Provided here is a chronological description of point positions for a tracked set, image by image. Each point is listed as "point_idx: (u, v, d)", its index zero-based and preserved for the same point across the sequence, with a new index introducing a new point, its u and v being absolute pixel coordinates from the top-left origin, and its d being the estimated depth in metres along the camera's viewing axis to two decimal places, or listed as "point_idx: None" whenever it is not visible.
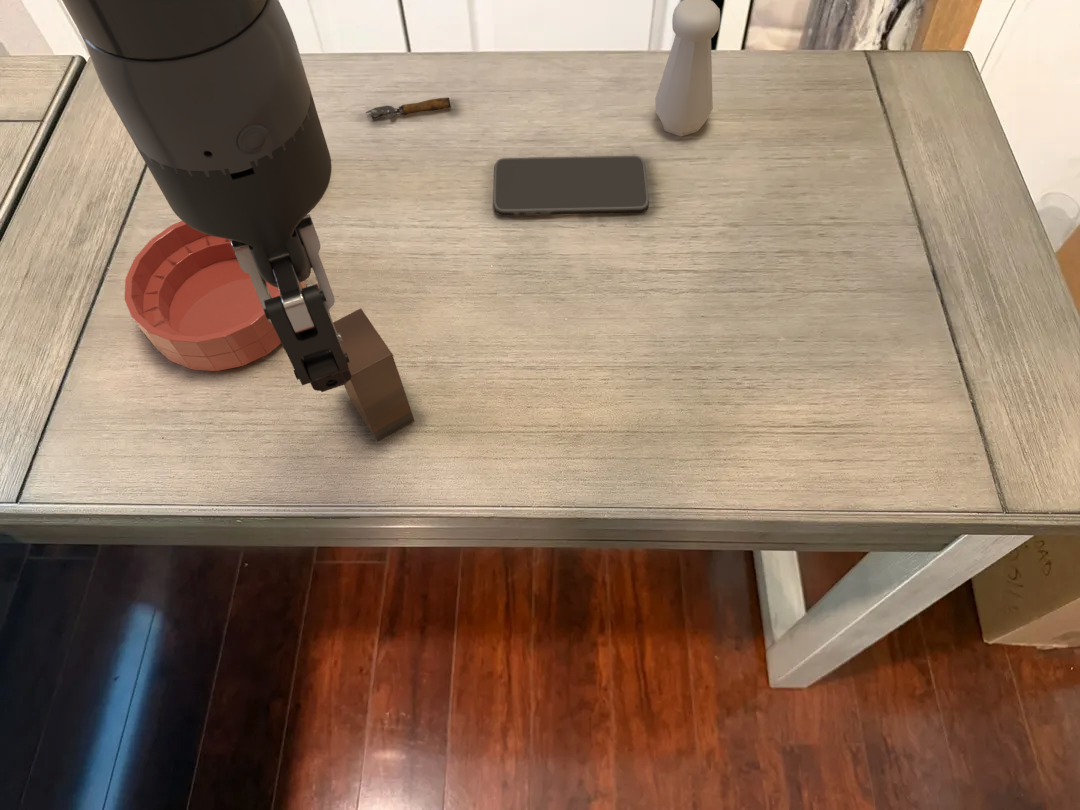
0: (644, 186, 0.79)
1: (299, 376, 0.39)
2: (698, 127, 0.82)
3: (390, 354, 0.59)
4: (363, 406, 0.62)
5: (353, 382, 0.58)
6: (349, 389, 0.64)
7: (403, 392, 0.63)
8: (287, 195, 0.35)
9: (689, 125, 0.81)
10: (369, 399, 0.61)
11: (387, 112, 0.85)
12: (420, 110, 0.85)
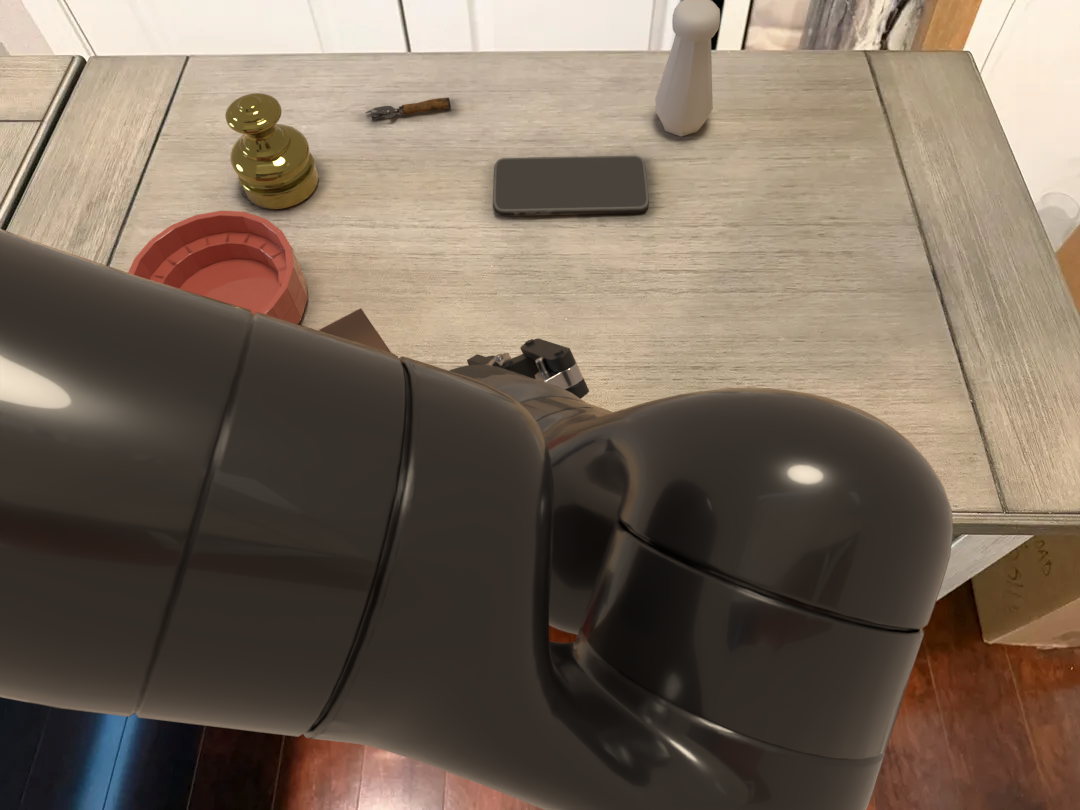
0: (644, 186, 0.79)
1: None
2: (698, 127, 0.82)
3: None
4: None
5: None
6: None
7: None
8: None
9: (689, 125, 0.81)
10: None
11: (387, 112, 0.85)
12: (420, 110, 0.85)
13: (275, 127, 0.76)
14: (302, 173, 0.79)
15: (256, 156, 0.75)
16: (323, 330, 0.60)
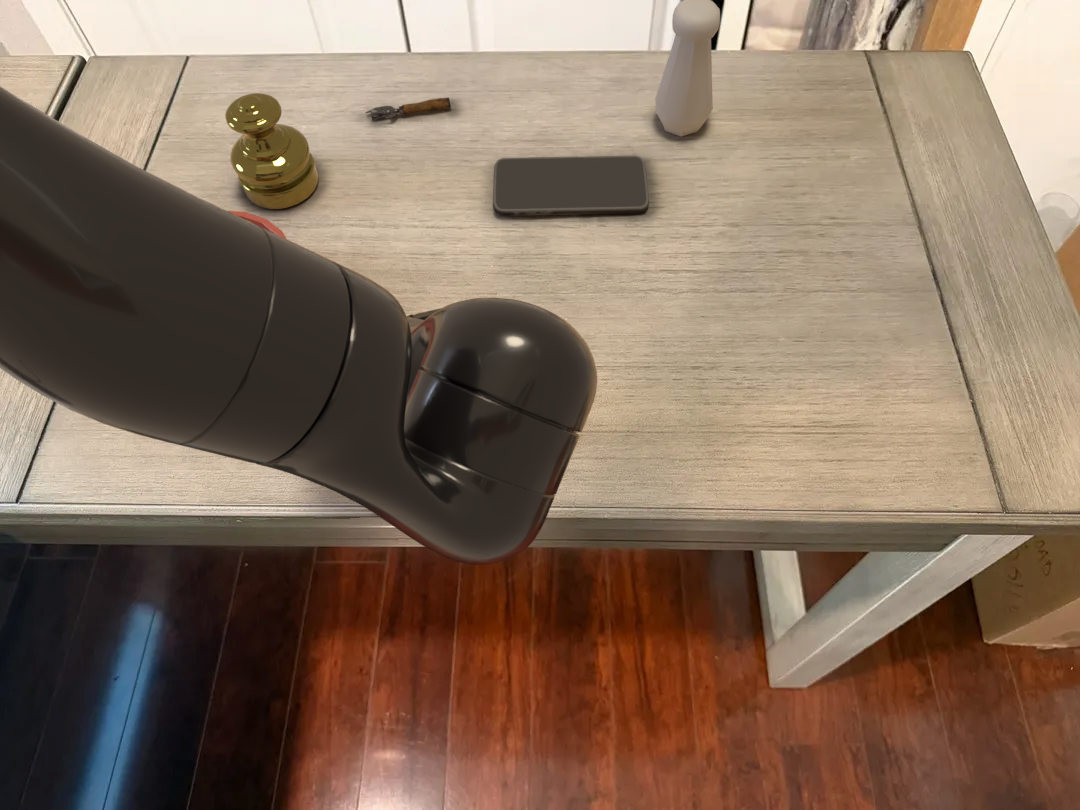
0: (644, 186, 0.79)
1: None
2: (698, 127, 0.82)
3: None
4: None
5: None
6: None
7: None
8: None
9: (689, 125, 0.81)
10: None
11: (387, 112, 0.85)
12: (420, 110, 0.85)
13: (275, 127, 0.76)
14: (302, 173, 0.79)
15: (256, 155, 0.75)
16: None
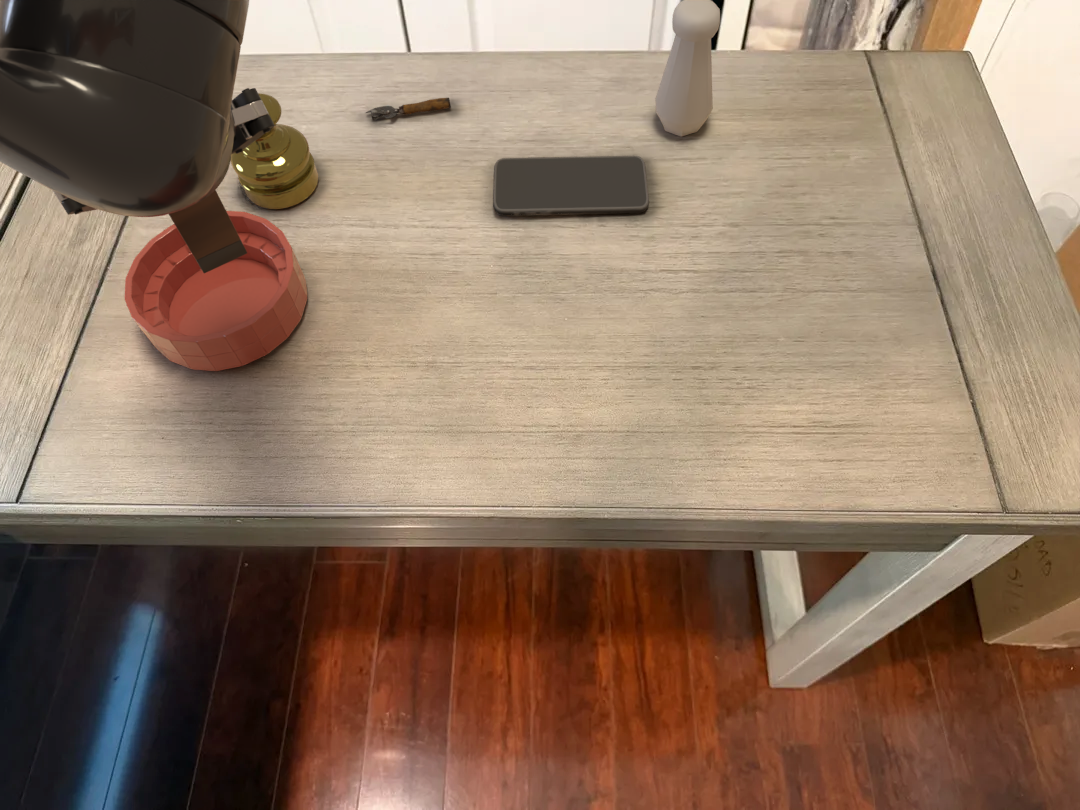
0: (644, 186, 0.79)
1: None
2: (698, 127, 0.82)
3: None
4: (173, 219, 0.56)
5: None
6: None
7: (223, 210, 0.57)
8: None
9: (689, 125, 0.81)
10: (178, 211, 0.55)
11: (387, 112, 0.85)
12: (420, 110, 0.85)
13: (275, 127, 0.76)
14: (302, 173, 0.79)
15: (256, 155, 0.75)
16: None
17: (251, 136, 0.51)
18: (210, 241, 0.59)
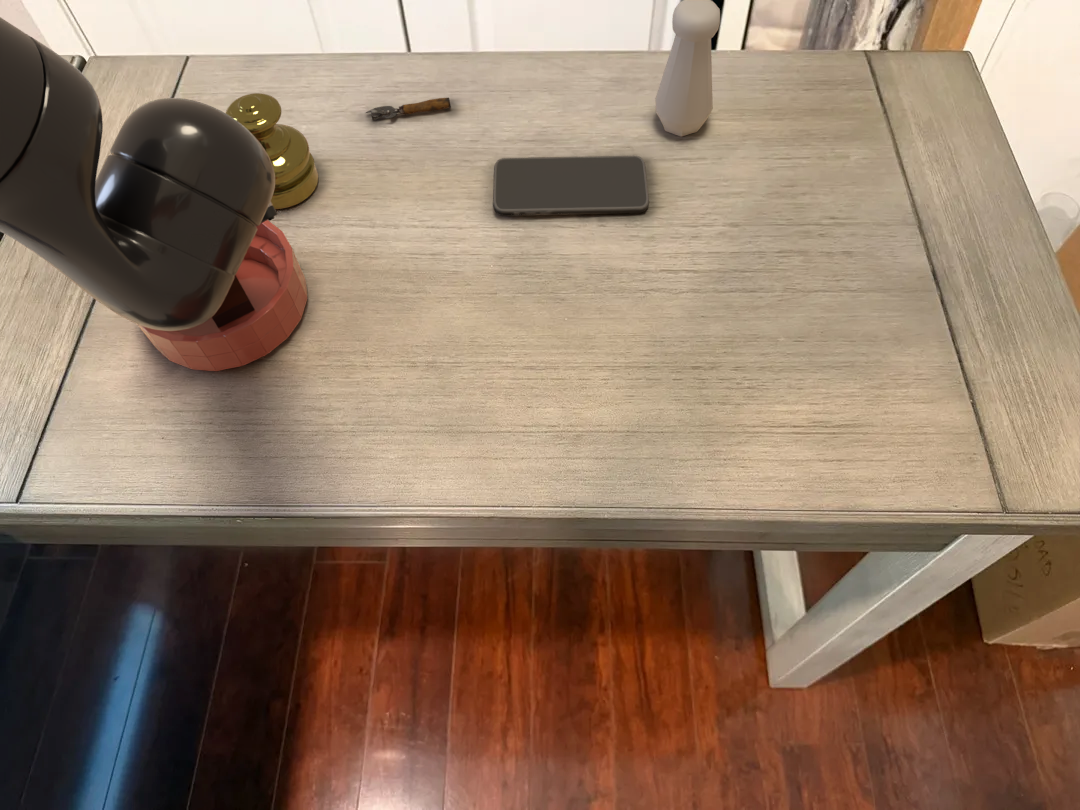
0: (644, 186, 0.79)
1: None
2: (698, 127, 0.82)
3: None
4: None
5: None
6: None
7: None
8: None
9: (689, 125, 0.81)
10: None
11: (387, 112, 0.85)
12: (420, 110, 0.85)
13: (275, 127, 0.76)
14: (302, 173, 0.79)
15: None
16: None
17: None
18: (223, 302, 0.70)
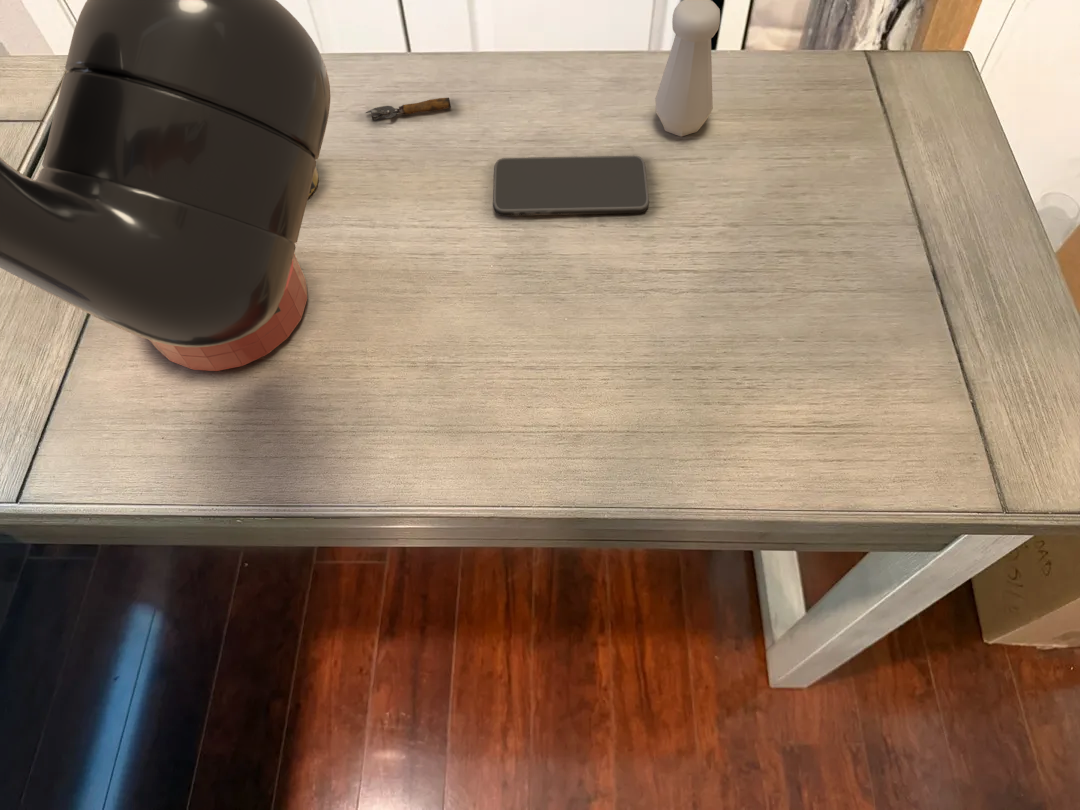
0: (644, 186, 0.79)
1: None
2: (698, 127, 0.82)
3: None
4: None
5: None
6: None
7: None
8: None
9: (689, 125, 0.81)
10: None
11: (387, 112, 0.85)
12: (420, 110, 0.85)
13: None
14: None
15: None
16: None
17: None
18: None
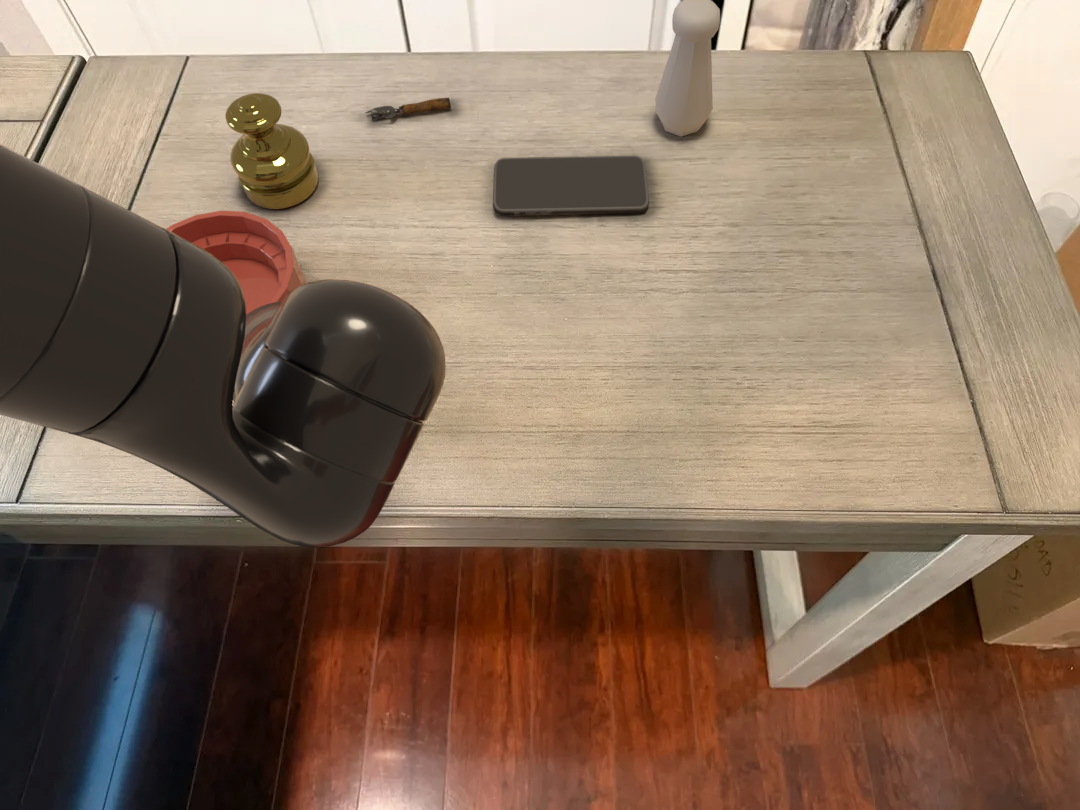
0: (644, 186, 0.79)
1: None
2: (698, 127, 0.82)
3: None
4: None
5: None
6: None
7: None
8: None
9: (689, 125, 0.81)
10: None
11: (387, 112, 0.85)
12: (420, 110, 0.85)
13: (275, 127, 0.76)
14: (302, 173, 0.79)
15: (256, 155, 0.75)
16: None
17: None
18: None
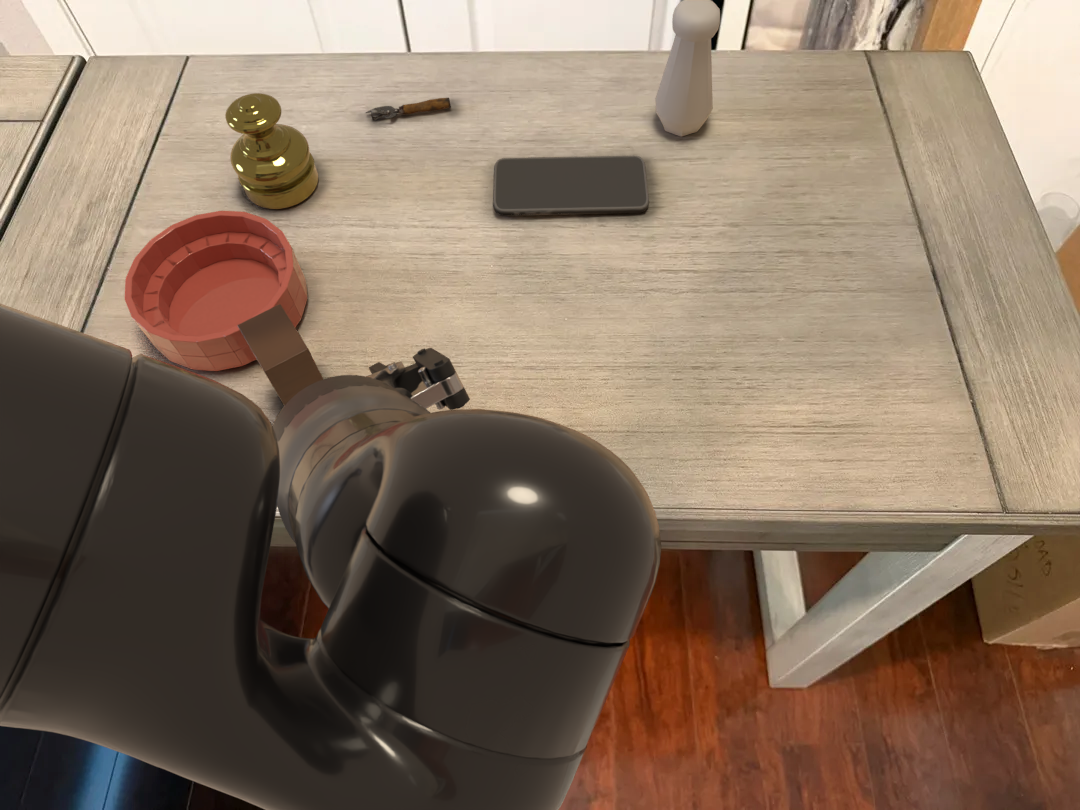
0: (644, 186, 0.79)
1: None
2: (698, 127, 0.82)
3: (306, 349, 0.59)
4: (283, 401, 0.62)
5: (269, 376, 0.59)
6: None
7: None
8: None
9: (689, 125, 0.81)
10: (288, 394, 0.62)
11: (387, 112, 0.85)
12: (420, 110, 0.85)
13: (275, 127, 0.76)
14: (302, 173, 0.79)
15: (256, 155, 0.75)
16: (241, 325, 0.60)
17: (444, 406, 0.43)
18: None
